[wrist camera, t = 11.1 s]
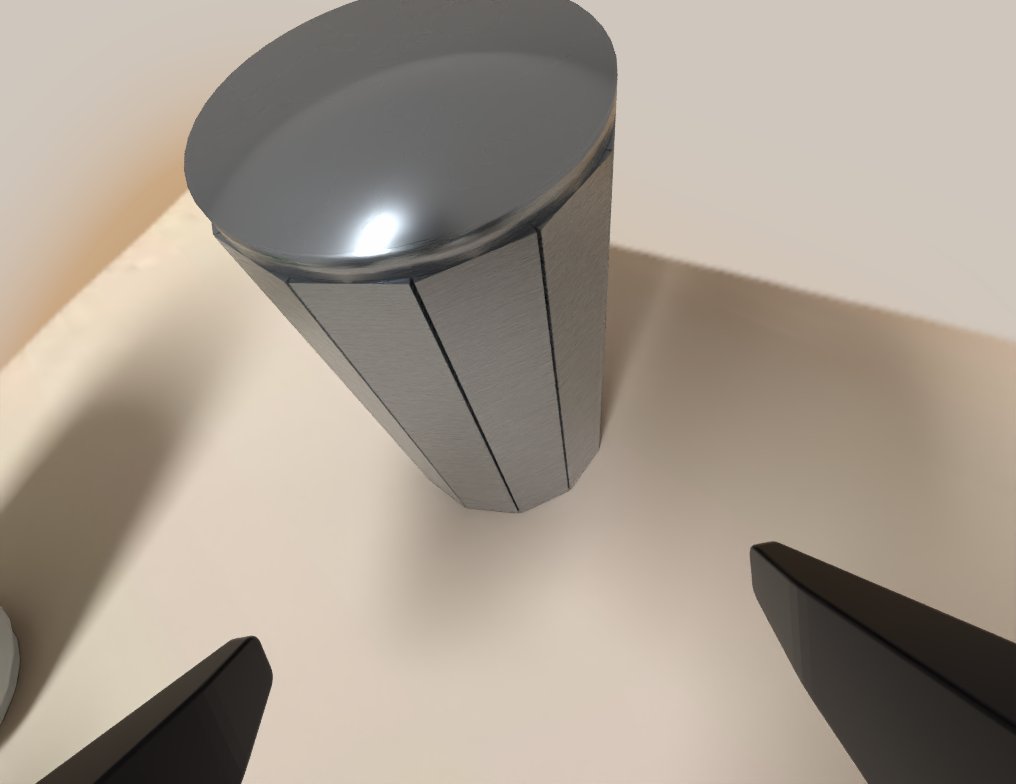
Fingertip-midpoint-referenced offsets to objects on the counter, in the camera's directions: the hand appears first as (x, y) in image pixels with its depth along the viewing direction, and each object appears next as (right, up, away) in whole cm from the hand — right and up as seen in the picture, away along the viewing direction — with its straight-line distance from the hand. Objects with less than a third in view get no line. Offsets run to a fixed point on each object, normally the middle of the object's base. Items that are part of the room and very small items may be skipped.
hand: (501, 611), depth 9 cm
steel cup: (0, +3, +11) cm, 11 cm away
